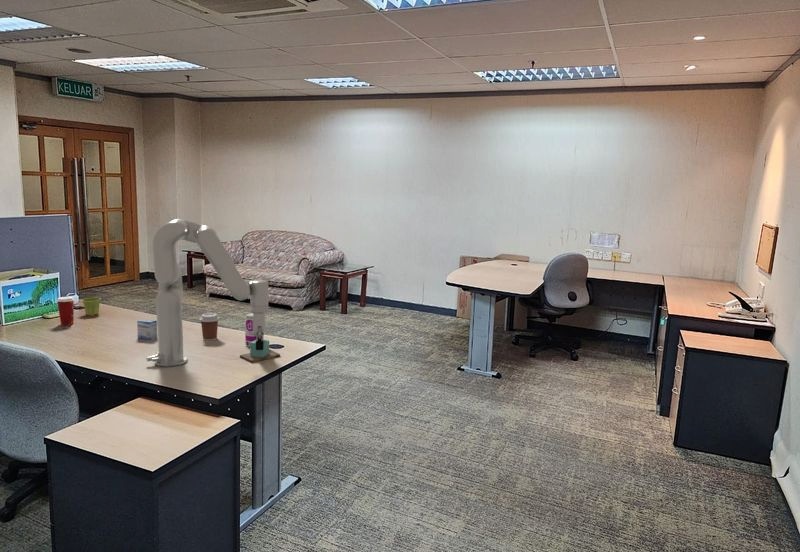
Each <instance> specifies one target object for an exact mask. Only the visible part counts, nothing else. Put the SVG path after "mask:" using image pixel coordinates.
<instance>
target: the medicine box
mask: <svg viewBox="0 0 800 552" xmlns="http://www.w3.org/2000/svg"><path fill="white" fill-rule="evenodd" d="M136 321H137V322H136V323H137V325H136V326H137V338H138V339H140V338H142V340H154V339H155V340H156V339H158V327H157V320H155V319H154V320H153V319H145V318H144V319H143V318H142V319H139V320H136Z"/></svg>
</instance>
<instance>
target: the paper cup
mask: <svg viewBox="0 0 800 552" xmlns="http://www.w3.org/2000/svg"><path fill="white" fill-rule="evenodd" d="M56 302H57V305H58V315H59V321H60V325H61V326H71V325H70V324H72V325H74V311H75V309H74V308H75V307H74V306H75V305H74V302H75V299H74V297H73V296H61V297H58V298H57V300H56Z"/></svg>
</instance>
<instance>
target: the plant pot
mask: <svg viewBox="0 0 800 552" xmlns="http://www.w3.org/2000/svg"><path fill="white" fill-rule="evenodd" d="M101 301H102V298H101V297H87V298H83V299H81V302H82V304H83V307H84V311H85V312H84V313H85V314H87V315H86V316H90V315H91V316H96V315H99V314H100V313H99V312H100V303H101ZM98 313H99V314H98ZM95 314H96V315H95Z"/></svg>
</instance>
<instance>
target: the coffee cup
mask: <svg viewBox="0 0 800 552" xmlns="http://www.w3.org/2000/svg"><path fill="white" fill-rule="evenodd" d="M219 320H220V317H219V316H218V314H217V313H210V312H208V313H204V314H203V313H202V314H201V317H199V321H200V324H201V331H202V332H201V333H202V334H201V335H202V339H203V341H205V342H206V341H207V342H208V341H209V342H210V340H212V341H216V340H217V339H218V329H219V328H218V326H219Z"/></svg>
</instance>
